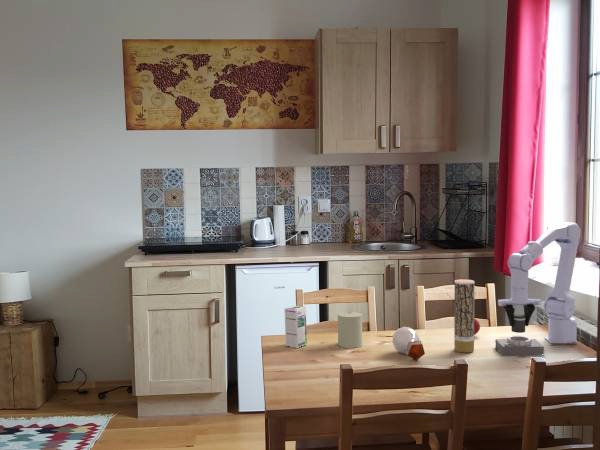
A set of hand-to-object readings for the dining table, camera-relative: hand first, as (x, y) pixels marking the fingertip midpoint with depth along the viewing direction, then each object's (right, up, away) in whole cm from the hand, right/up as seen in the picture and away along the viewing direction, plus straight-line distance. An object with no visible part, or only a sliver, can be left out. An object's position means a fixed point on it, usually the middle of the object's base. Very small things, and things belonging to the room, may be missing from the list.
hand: (518, 325), depth 244 cm
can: (-59, -9, +12) cm, 60 cm away
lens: (0, -2, +1) cm, 2 cm away
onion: (-11, -7, +21) cm, 25 cm away
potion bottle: (-39, -10, -3) cm, 40 cm away
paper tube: (-19, -9, +2) cm, 21 cm away
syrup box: (-79, -9, +12) cm, 80 cm away
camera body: (0, -9, 0) cm, 9 cm away
